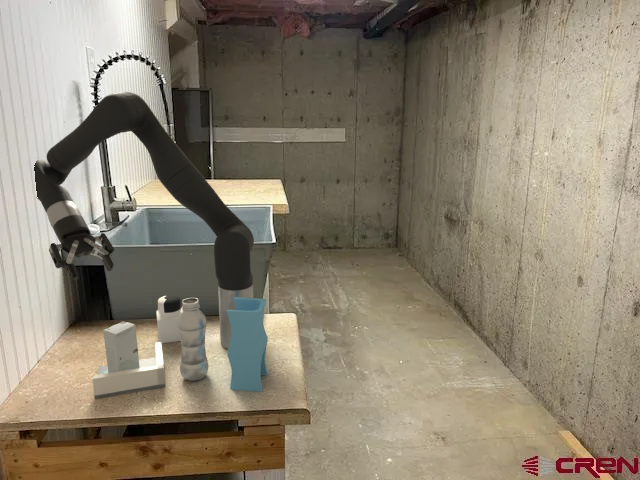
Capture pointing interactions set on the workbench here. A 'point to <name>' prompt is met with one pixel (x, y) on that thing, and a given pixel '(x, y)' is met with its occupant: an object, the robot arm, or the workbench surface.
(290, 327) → the workbench surface
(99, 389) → the corner arena
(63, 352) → the workbench surface
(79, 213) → the robot arm
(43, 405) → the workbench surface
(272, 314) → the workbench surface
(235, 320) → the vase
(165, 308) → the medicine bottle
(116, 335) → the skincare box
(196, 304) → the plastic bottle
